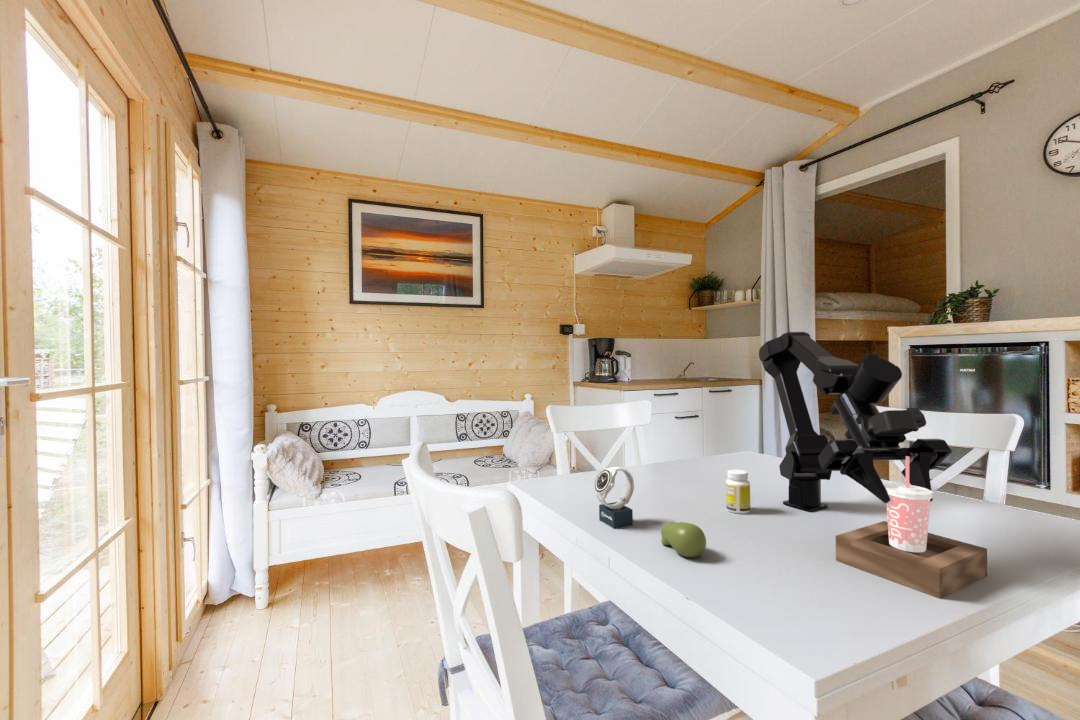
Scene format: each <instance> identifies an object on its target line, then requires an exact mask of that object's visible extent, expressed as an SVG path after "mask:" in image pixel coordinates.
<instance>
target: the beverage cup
mask: <svg viewBox="0 0 1080 720" xmlns="http://www.w3.org/2000/svg"><path fill="white" fill-rule="evenodd" d="M883 485H884V487H885V488H886V490H887V493H888V495H889V498H890V501H889V502H888V503H885V504H886V515H887V518H886V519H887V522H888V535H889V544H890V545H891V546H892V547H895V548H897V549H900V550H904V551H909V552H925V551H926V545H927V533H929V531H928V530H929V521H930V507H931V502H930V499H931V498H932V497H933V493H934V492H933V490H932V489H931V490H932V491H931V490H929V489H927V488H923V487H919V486H914V485H911V484H910V483H909V456H906V478H905V483H885V484H883Z"/></svg>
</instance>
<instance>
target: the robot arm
mask: <svg viewBox="0 0 1080 720" xmlns="http://www.w3.org/2000/svg"><path fill="white" fill-rule="evenodd" d="M758 357H759V360H760V362H761V364H762V367H763V369H764V371H765V372H767V374H768V375H770V376H771V377H772V378H773V379H774V382H775V385H776V389H777V393H778V395H779V396H778V397H779V400H780V404H781V408H782V412H783V415H784V419H785V422H786V426H787V430H788V434H789V438H788V440H787V443H786V445H785V448H784V449H785V456H784V458H783V459H782V461H781V463H780V464H779V465H778V467H779V472H780V476H782V477H783V478H785V479H787V480H788V499H787V500H784V501H782V504H783V505H786V506H788V507H789V506H790V507H793V508H796V509H800V510H804V511H807V512H815V511H817V510H822V509H825V508H828V507H829V504H828V503H827V504H826V503H823V502H822V495H821V493H822V488H821V487H822V486H821V485H822V484H821V483H822V480H827V481H829V480H831V477H832V473H833V472H839V473H840V475H843V476H847V477H849V478H850V479H852V481H854V482H856V483H858V484H859V485H861V486H862V487H864V489H866V490H867V491H869V492H870V493H871V494H872V495H874V496H875V497H876V498H878V499H879V500H880V501H881V502H882V503H884V504H886V503H888V502H889V501H890V498H889V495H888V493H887V490H886V488H885V487H884V485H885V484H884V482H883V481H882V479H881V477H880V476H879V473H878V471H877V470H876V469H875V465H874V461H900V462H901V463H902V465H903V466H904V468H903V469H902V471H901V474H902V475H903V477H904V479H906V456H909V485H914V486H919V487H923V488H927V489H929V490H931V491H932V492H933V490H932V484H931V478H930V477H931V476H930V471H931V470H934V469H936V468H937V467H938V466H939V465H940V464H941V463H942V462H944V460H945V459H947V458H948V456H949V455H951V454H952V453H953V450H952V449H951V447H950V445H948V443H947V442H946V440H945V439H941V438H917V439H916V440H915V441H914V442H913V443H912V444H911V445H910V446H909V447H902V446H900V444H903V443H904V442H905V441H906V440H907V436H906V435H907V434H909V433H912V432H918V431H919V429H922V428H923V427H925V426H926V424H927V420H926V417H925V414H924V413H923V412H922V410H920V408H918V407H907V408H906V409H903V410H902V409H901V410H900V409H899V410H898V409H894V410H892V409H891V410H883V411H881V412H880V410H879V409H878V407H877V406H876V404H879V403H882V402H884V401H885V400H886V399H887V397H888V396H889V394H890V393H891V392H892V391H893V389H894V388H895V387H896V385H897V384H898V383H899V381H901V379H902V377H903V372H902V369H901V368H900V367H899V366H898V365H895V363H893V362H891V361H888V360H887V359H884V358H880V356H879V354H878V353H866V354H865V353H864V355H863V357H862V358H861V361H860V363H859V364H857V363H855V362H852V361H850V360H849V359H848V360H847V359H843V358H839V357H836V356H834V355H833V354H831V353H830V352H829V351H827V350H826V349H825V348H824V347H823V346H821V345H820V344H819V343H818V342H816V341H815V340H814V339H813V338H811V335H810V334H809V333H808V332H805V331H787V332H784V333H782V334H781V335H780V336H777V337H776V338H772V339H770V340H768V341H767V340H766V342H765V343H763V344H762V346H761V347H760V348H759V350H758ZM801 363H802V364H803V365H804V366H805V367H806V368H807V369H808V370H809V371H810V372H811V373H812V374H813V378H812V382H813V384H814V385H815V386H816V388H817V389H818V390H819V392H820V393H821V394H822V395H837V396H836V398H835V400H833V404H832V406H831V408H830V414H831V415H833V416H834V415H836V416H837V415H838V416H840V418H841V420H842V422H843V424H844V426H845V428H846V432H845V434H844V436H845V438H846V439H828V438H827V436H826V435H825V434H818V432H817V431H815V428H814V427H813V426H814V425H813V423H812V419H811V416H810V413H809V410H808V407H807V406H808V405H807V404H806V403H807V402H806V400H805V396H804V392H803V390H802V389H803V388H802V386H801V383H800V379H799V376H798V375H799V374H798V370H799V368H800V365H801ZM933 499H934V498H933V496H932V498H931V499H930V503H932V502H933Z"/></svg>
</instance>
